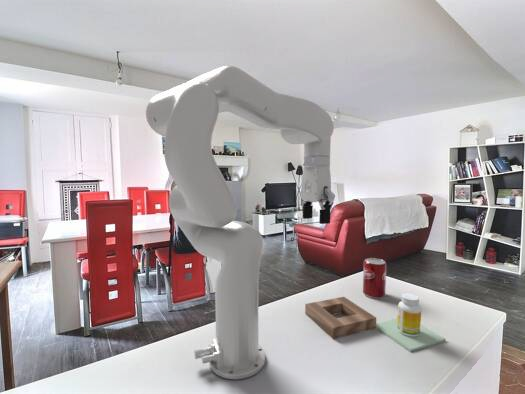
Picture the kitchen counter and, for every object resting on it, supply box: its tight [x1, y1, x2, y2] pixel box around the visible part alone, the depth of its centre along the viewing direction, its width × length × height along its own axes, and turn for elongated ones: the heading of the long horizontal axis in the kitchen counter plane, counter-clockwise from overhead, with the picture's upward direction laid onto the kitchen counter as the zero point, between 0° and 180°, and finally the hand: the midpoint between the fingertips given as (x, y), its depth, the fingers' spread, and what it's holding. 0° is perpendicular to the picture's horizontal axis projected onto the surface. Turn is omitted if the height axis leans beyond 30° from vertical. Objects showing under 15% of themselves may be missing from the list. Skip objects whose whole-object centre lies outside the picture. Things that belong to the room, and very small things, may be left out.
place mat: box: [375, 318, 446, 353], centre depth 74 cm, size 12×12×1 cm
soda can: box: [362, 257, 387, 299], centre depth 98 cm, size 7×7×12 cm
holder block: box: [304, 296, 377, 340], centre depth 81 cm, size 14×14×3 cm
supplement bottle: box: [396, 293, 422, 337], centre depth 74 cm, size 5×5×10 cm
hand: (315, 220), depth 84 cm, fingers open, 9 cm apart
